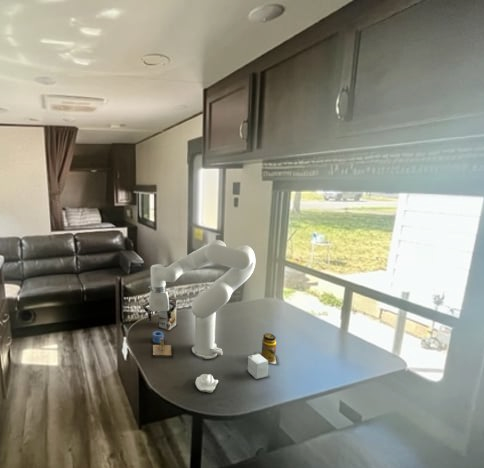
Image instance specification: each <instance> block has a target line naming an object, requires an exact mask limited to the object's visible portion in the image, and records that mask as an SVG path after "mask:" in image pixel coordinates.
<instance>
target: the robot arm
mask: <svg viewBox="0 0 484 468" xmlns="http://www.w3.org/2000/svg"><path fill="white" fill-rule="evenodd" d="M212 263H214V264H216V265H220V266H224V267H228V268H230V269H228V270H227V271H226V272H225V273H224V274H222V275H221V276H219V278H217V279H216V280H214V281H213V282H212V284H211V286H210V287H209V288H208V289H204V290H201V291H199V293H198V294H197V295H196V296H195V298H194V299H193V301H192V303H191V308H190V309H191V312H192V314H193V316H195V320H194V321H195V322H194V323H195V324H194V345H193V346H192V347H191V351H192V353H193V354H195V355H196V356H198V357H202V359H203V360H211V359H214V358H216V357H217V356H218V355H219V356H223V353H224V352H223V349H222V348H220V347H218V346H217V343H216V342H215V341H216V340H215V339H216V316H217V315H216V313H217V311H219V310H220V309H221V308H223V307H224V306H225V305H226V304H227V303H228V302H229V300H230V299H231V296H232V294H233V293H234V292H235V291H236V290H237V289H238V288H240V287H241V286H242V285H243V284H244V283H245V282H246V281H247V280H249V279H250V277H251V276H252V275H253V272H254V270H255V267H256V255H255V252H254V250H253V249H252V247H251V246H249V245H245V244H242V245H239V246H238V247H236V248H234V247H229V246H227V245H226V243H225V242H224V241H223V240H221V239H215V240H212V241H210V242H209V243H207V244H205V245H203V246H201V247H199V248H198V249H196V250H193V252H190V253H189V254H187V255H185V256H183V257H182V258H179V259H178V260H176V261H173V262H172V263H170V265H168V266H166V267H165V265H164V264H161V263H156V264H152V265H151V266H150V267H149V269H150V286H148V287H147V288H148V289H147V290H150V291H149V294H148V295H149V297H148V301H147V302H145V303H143V304H142V308H143V310H144V312H146V314H147V317H148V318H147V319H148V320H149V322H152V312H159V311H168V321H170V319H171V312H172V311H173V310H174V309H175V307H176V308H177V303H176V304H175V303H173V302H170V301H169V298H170V297H169V292H168V289H167V283H174V282H176V281H177V280H178V279H179V278H180V277H181V276H182V275H184V274H186V273H188V272H190V271H192V270H194V269H198V270H199V269H202V268H205V266H208V265H210V264H212ZM166 282H167V283H166ZM169 304H170V305H172V306H173V307H172V308H171V309H170V308H169ZM148 307H149V308H148Z"/></svg>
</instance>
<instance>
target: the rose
mask: <svg viewBox="0 0 484 468" xmlns="http://www.w3.org/2000/svg"><path fill="white" fill-rule="evenodd" d="M194 383H195V384H194V385H195V386H196V389H198V390H199V391H200V392H206V393H213V392H214V390H215V389H216V387H217V385H218V383H219V380H218V379H214V376H213V375H212V374H211V373H209V374H207V373H203V374H201V375H200V376H197V377H196V379H195V382H194Z"/></svg>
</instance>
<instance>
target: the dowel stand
mask: <svg viewBox="0 0 484 468" xmlns="http://www.w3.org/2000/svg"><path fill="white" fill-rule="evenodd" d="M152 355H153V356H172V345H171V344H165V339H164V337H163V338H161V339H160V343H159V344H153V345H152Z"/></svg>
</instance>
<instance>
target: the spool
mask: <svg viewBox="0 0 484 468" xmlns="http://www.w3.org/2000/svg"><path fill="white" fill-rule="evenodd" d="M161 338H163V339H164V332H163V331H161V330H155V331H152V342H153V343H154V344H160V339H161Z"/></svg>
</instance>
